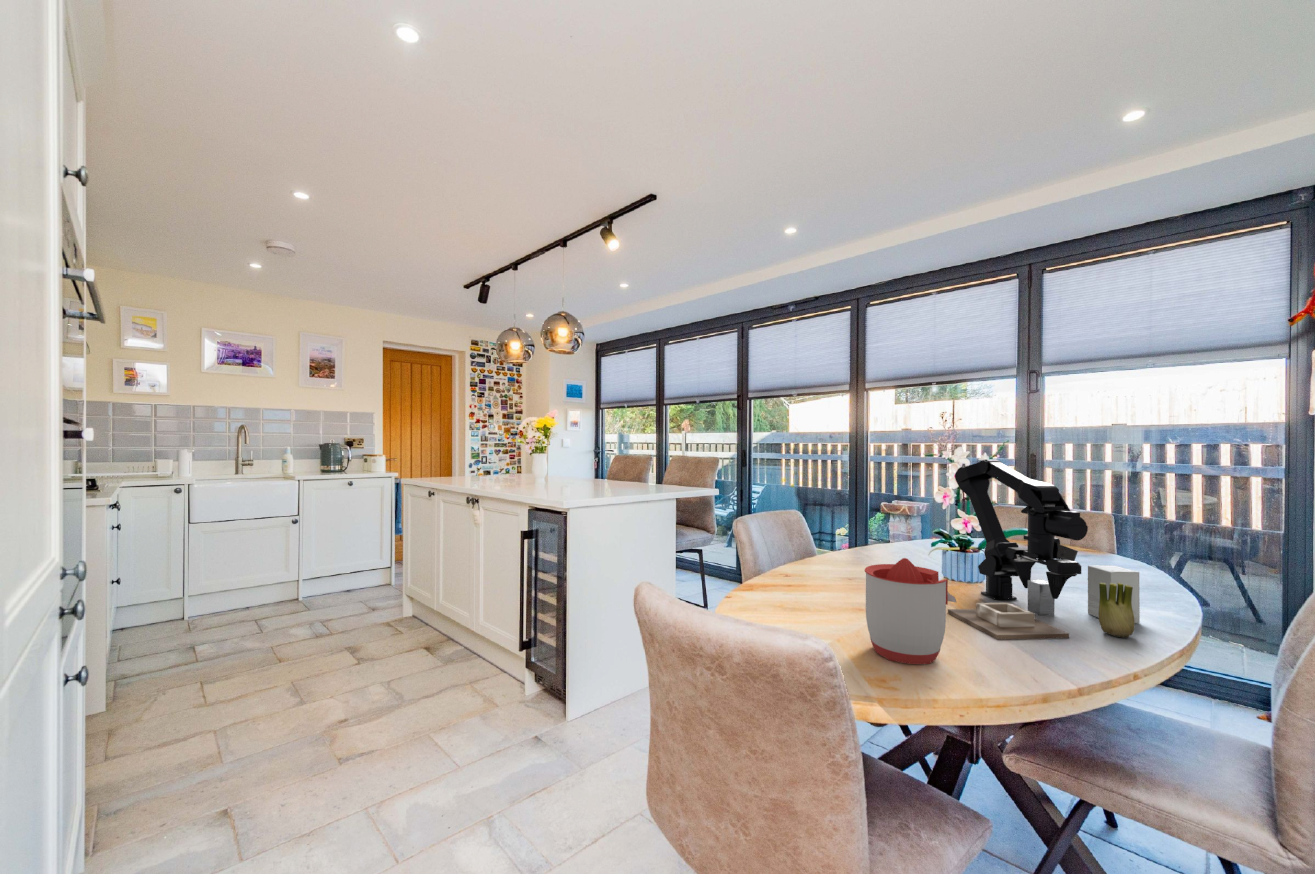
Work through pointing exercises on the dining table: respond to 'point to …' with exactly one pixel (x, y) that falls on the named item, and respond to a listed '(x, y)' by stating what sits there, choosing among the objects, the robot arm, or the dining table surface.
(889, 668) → the dining table surface
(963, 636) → the dining table surface
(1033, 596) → the metal peg
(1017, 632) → the socket board
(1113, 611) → the fennel bulb
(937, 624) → the citrus juicer
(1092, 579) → the supplement box
